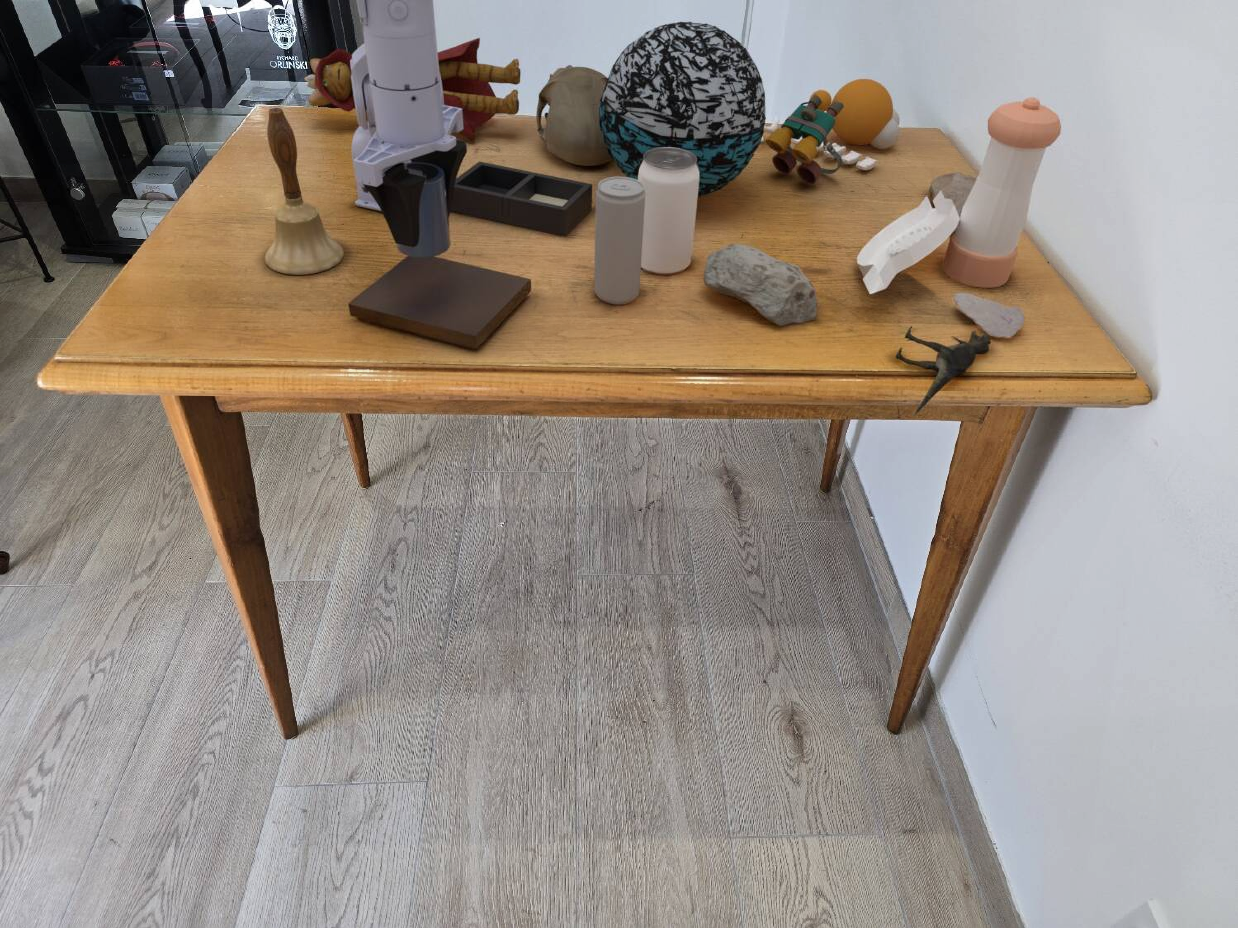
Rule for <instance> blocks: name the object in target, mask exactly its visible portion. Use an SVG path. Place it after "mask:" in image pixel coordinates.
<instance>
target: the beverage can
mask: <svg viewBox="0 0 1238 928" xmlns="http://www.w3.org/2000/svg"><path fill="white" fill-rule="evenodd" d="M644 208H645V191H644V185H643V183H641V182H640V181H638V180H636V179H633V178H629V177H628V176H610V177H606V178H603V179H601V180H600V181H599V182H598V184H597V189H596V193H595V223H594V264H593V265H594V267H593V268H594V269H593V270H594V271H593V292H594V294H595V295H596V296H597V297H598V299H600V300H601V301H603V302H605V303H607V304H610V305H616V306H617V305H626V304H629V303H631V302H633V301H634V300H635V299H636V298H637V297H638V296H639V294H640V287H641V271H642V269H641V257H642V240H643V224H644Z"/></svg>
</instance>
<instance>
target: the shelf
mask: <svg viewBox="0 0 1238 928" xmlns="http://www.w3.org/2000/svg"><path fill="white" fill-rule="evenodd" d="M531 292H532V279H531V278H528V277H523V276H520V275H514V274H511V273H507V272H503V271H498V270H494V269H490V268H486V267H481V266H476V265H473V264H468V263H463V262H459V261H456V260H451V259H447V258H444V257H438V256H433V257H425V258H418V257H411V256H407V255H406V256H405V257H404V258H403V259H402V260H400V261H399V262H398V263H397V264H395V265H394V266H393V267H391V268H390V269H389V270H388V271H386V273H384V274H383V275H382V276H380V277H379V278H378V279H377V280H375V281H374V282H373V283H372V284H370V285H369V286H368V287H367V288H365V289H364V290H363V291H362V292H361V293H359V294H358V295H357V296H356V297H354V298H353V299H352V300H350V302H348V303H347V305H348V310H349V316H350V317H354V318H357V319H358V320H359V321H362V322H367V323H370V324H374V325H378V326H382V327H386V328H389V329H393V330H397V331H401V332H404V333H408V334H411V335H416V336H420V337H424V338H428V339H431V340H436V341H439V342H442V343H446V344H451V345H455V346H458V347H461V348H465V349H469V350H473V351H475V350H477V349H478V347H480V345H481V344H483V342H484V341H486V339H487V338H488V337H489V336H490V335H491V334H492V333H493V332H494V331H495V330H496V329H497V328H498V326H499V325H500V324H501V323H502V322H503V321H504V320H505V319H506V318H507V317H508V316H509V315H510V314H511V313H512V312H513V311H514V310H515V309H516V308H517V307H518V306H519V304H521V302H523V300H524V299H525V298H526V297H527V296H528V295H529V294H530V293H531Z"/></svg>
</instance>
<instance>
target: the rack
mask: <svg viewBox="0 0 1238 928" xmlns="http://www.w3.org/2000/svg"><path fill="white" fill-rule="evenodd" d="M592 210H593V183H588V182H584V181H578V180H574V179H568V178H563V177H558V176H553V175H548V174H545V173H544V174H543V173H537V172H533V171H529V170H524V169H519V168H515V167H508V166H505V165H499V164H495V163H490V162H484V161H478V162H476V163H475V164H474V165H472V166H471V167H470V168H468V169H467V170H466V171H464V172H463V173H461V174H460V175H459V176H457V177H456V181H455V185H454V191H453V196H452V203H451V209H450V213H451V212H452V213H456V214H461V215H464V216H465V215H466V216H470V217H474V218H479V219H483V220H488V221H492V222H496V223H502V224H507V225H511V226H516V227H521V228H525V229H528V230H534V231H538V232H543V233H547V234H551V235H556V236H562V237H566V236H568V235H569V234H570V232H572V231H573V230H574V229H575V228H576V227H577V226H578V224H579V223H580V222H582V220H583V219H584V218H585V217H586V216H587V215H589V213H590V212H591V211H592Z"/></svg>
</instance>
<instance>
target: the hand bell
mask: <svg viewBox="0 0 1238 928" xmlns="http://www.w3.org/2000/svg"><path fill="white" fill-rule="evenodd" d="M266 130H267V131H266V133H267V141H268V147H269V150H270V153H271V155H272V158H273V160H274V162H275V164H276V166H277V168H278V170H279V172H280V173H279V174H280V177H281V183H282V188H283V195H284V198H285V199H284V200H285V204H283V205H281V206H279V207H278V208H277V209H276V210H275V211H274V221H275V231H274V232H275V233H274V239H273V242H272V244H271V245H270V246H269V248H268V249H267V250H266V253H265V255H264V262H265V264H266V265H267V266H268V268H270V269H271V270H272V271H275V272H277V273H281V274H286V275H293V276H294V275H295V276H306V275H314V274H318V273H321V272H325V271H328V270H330V269H333V268H334V267H336V266H337V265H338V264H340V263H341V262H342V260H343V259H344V257H345V251H344V248H343V247H342V246H341V244H340V243H339V242H338V241H337V240H335V239H333V238H332V237H331V236H330V235H329V233H328V232H327V231H326V229H325V226H324V224H323V222H322V219H321V216H320V212H319V210H318V208H317V207H316V206H315V205H313V204H311V203H308V202H304V199H303V196H302V190H301V187H300V182H299V179H298V174H297V162H298V150H297V149H298V147H297V141H296V136H295V133H294V131H293V128H292V125H291V124H290V123H289V120H288V119H287V117H286V115H285V113H284V111H283V109H282V108H280V107H271V108H270V109H269V110H268V123H267V129H266Z"/></svg>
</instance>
